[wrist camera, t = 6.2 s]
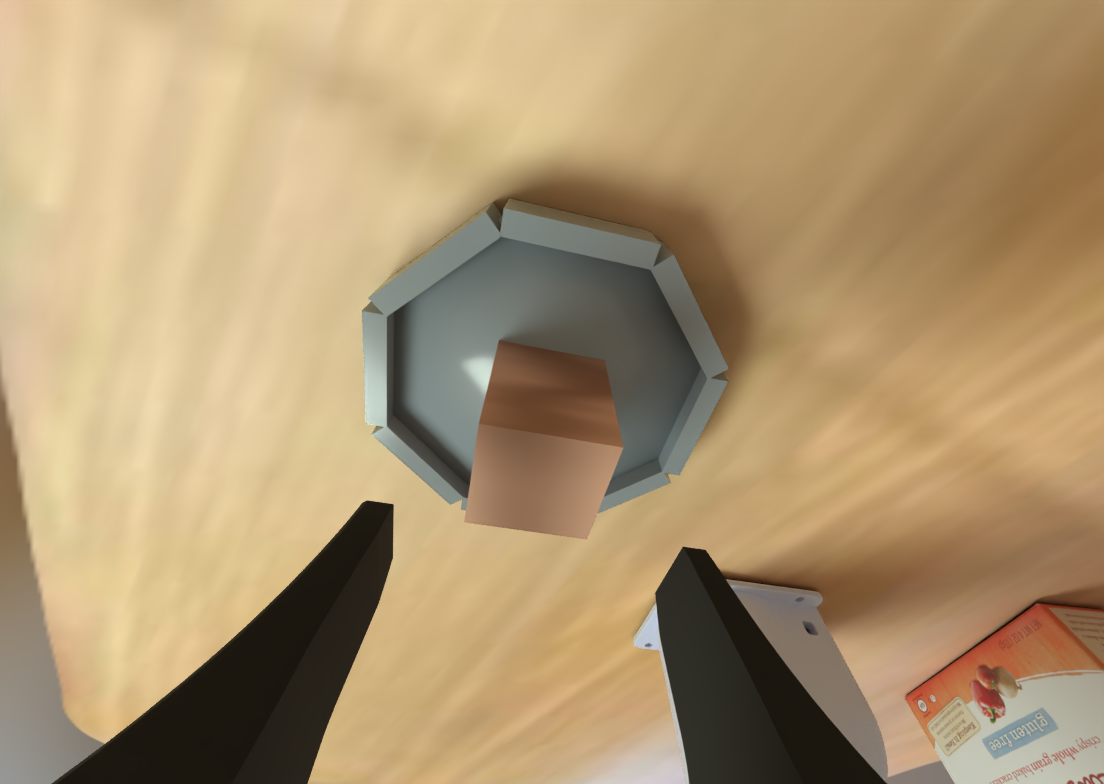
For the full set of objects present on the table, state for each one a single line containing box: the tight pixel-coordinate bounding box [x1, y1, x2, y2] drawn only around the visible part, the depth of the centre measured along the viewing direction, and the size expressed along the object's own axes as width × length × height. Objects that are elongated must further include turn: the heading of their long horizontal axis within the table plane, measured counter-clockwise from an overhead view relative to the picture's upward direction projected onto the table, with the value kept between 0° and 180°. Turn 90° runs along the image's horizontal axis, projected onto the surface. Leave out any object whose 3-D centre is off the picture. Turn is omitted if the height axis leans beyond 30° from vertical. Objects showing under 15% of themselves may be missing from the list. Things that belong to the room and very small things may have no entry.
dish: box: [362, 198, 729, 514], centre depth 17 cm, size 13×13×2 cm
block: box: [464, 340, 623, 539], centre depth 15 cm, size 4×4×5 cm
